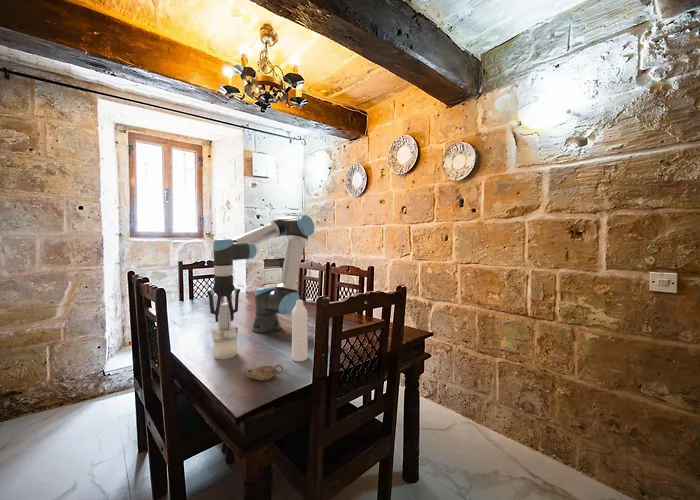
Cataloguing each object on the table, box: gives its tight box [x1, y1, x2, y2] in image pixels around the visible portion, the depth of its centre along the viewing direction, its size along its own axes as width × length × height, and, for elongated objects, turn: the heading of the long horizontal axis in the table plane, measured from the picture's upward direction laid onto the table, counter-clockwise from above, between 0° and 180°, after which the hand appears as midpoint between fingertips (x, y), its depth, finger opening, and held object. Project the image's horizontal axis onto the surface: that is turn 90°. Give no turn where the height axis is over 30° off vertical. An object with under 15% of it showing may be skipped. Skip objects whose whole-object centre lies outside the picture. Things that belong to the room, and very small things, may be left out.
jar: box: [212, 336, 238, 360], centre depth 133 cm, size 10×10×8 cm
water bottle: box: [291, 298, 313, 363], centre depth 129 cm, size 9×6×25 cm
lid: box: [211, 302, 239, 340], centre depth 132 cm, size 12×10×14 cm
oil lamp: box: [246, 363, 284, 382], centre depth 113 cm, size 13×8×5 cm, turn 89°
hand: (224, 328), depth 133 cm, fingers closed on lid, 3 cm apart
